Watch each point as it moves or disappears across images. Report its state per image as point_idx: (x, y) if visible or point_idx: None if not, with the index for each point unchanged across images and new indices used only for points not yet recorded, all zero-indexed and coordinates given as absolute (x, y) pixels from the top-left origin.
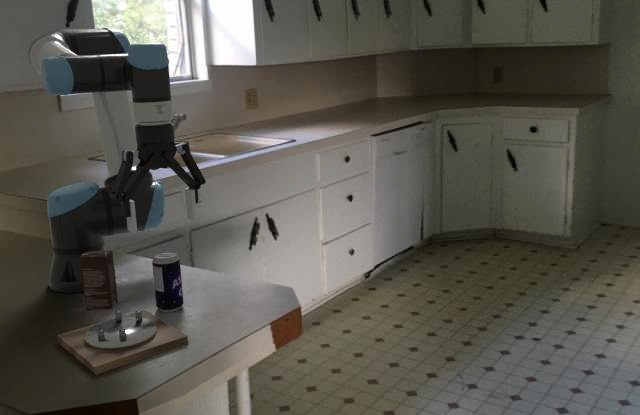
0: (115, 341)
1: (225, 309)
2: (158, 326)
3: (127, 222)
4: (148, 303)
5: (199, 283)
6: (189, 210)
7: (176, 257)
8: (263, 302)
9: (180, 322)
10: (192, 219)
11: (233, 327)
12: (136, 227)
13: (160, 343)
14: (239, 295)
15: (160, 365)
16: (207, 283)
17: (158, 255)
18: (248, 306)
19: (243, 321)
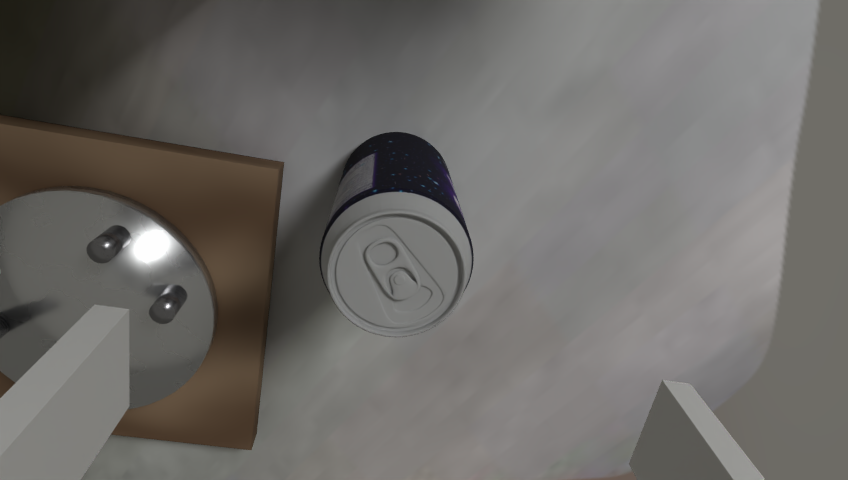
0: (32, 365)
1: (503, 341)
2: (227, 337)
3: (51, 355)
4: (376, 58)
5: (669, 52)
6: (680, 474)
7: (427, 323)
8: (615, 391)
9: (336, 307)
10: (636, 452)
11: (413, 450)
12: (104, 436)
13: (161, 433)
14: (631, 289)
15: (124, 473)
16: (684, 84)
17: (368, 246)
18: (563, 378)
19: (462, 442)
